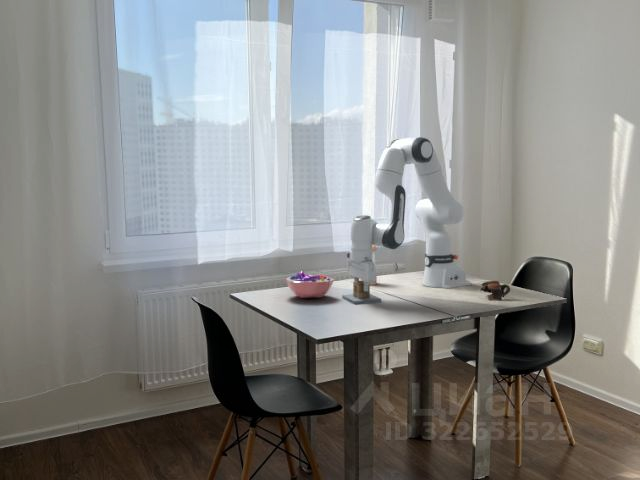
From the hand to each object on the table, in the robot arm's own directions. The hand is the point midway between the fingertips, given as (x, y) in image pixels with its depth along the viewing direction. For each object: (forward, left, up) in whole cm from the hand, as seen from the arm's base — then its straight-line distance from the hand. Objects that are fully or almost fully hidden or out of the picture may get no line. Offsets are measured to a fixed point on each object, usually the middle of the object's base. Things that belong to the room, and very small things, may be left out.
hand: (361, 289), depth 263 cm
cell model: (+18, -12, -5) cm, 22 cm away
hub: (0, 0, -4) cm, 5 cm away
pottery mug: (-52, +18, -5) cm, 56 cm away
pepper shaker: (-17, -28, -5) cm, 33 cm away
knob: (0, 0, -3) cm, 3 cm away
